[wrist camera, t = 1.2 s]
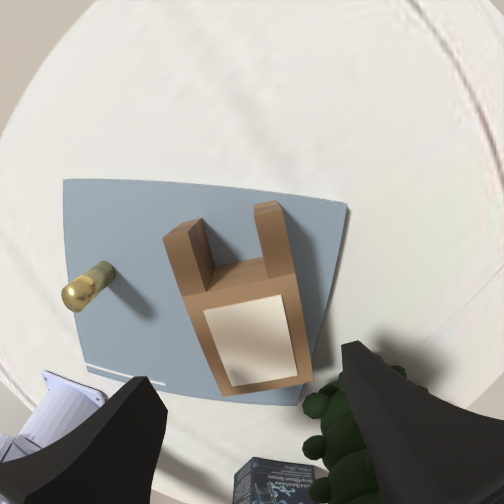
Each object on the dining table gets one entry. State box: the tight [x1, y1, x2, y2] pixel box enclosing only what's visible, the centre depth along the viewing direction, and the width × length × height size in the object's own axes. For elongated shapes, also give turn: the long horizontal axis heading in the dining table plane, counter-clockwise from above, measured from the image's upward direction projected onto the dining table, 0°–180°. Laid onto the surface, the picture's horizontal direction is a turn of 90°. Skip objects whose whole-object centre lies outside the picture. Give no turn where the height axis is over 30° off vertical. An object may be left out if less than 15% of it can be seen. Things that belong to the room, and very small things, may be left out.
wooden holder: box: [162, 200, 314, 397], centre depth 15 cm, size 10×6×4 cm, turn 13°
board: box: [63, 179, 347, 406], centre depth 18 cm, size 16×18×1 cm
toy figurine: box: [302, 354, 429, 504], centre depth 13 cm, size 9×19×25 cm
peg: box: [61, 261, 116, 313], centre depth 14 cm, size 2×2×4 cm
